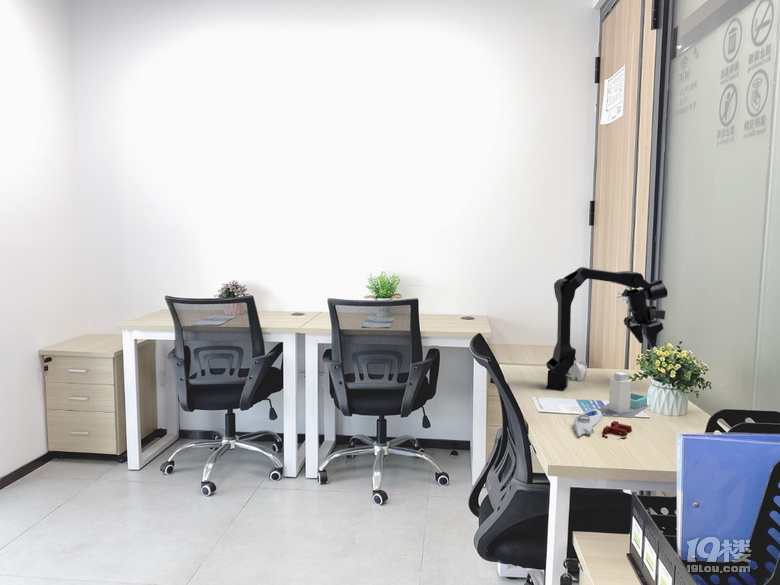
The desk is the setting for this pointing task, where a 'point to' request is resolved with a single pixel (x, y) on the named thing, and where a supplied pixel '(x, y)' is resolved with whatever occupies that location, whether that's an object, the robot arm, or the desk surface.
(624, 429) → the bracket
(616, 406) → the grey square bottle
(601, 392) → the desk surface
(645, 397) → the holder
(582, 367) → the elephant figurine
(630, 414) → the mat
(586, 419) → the spaceship
